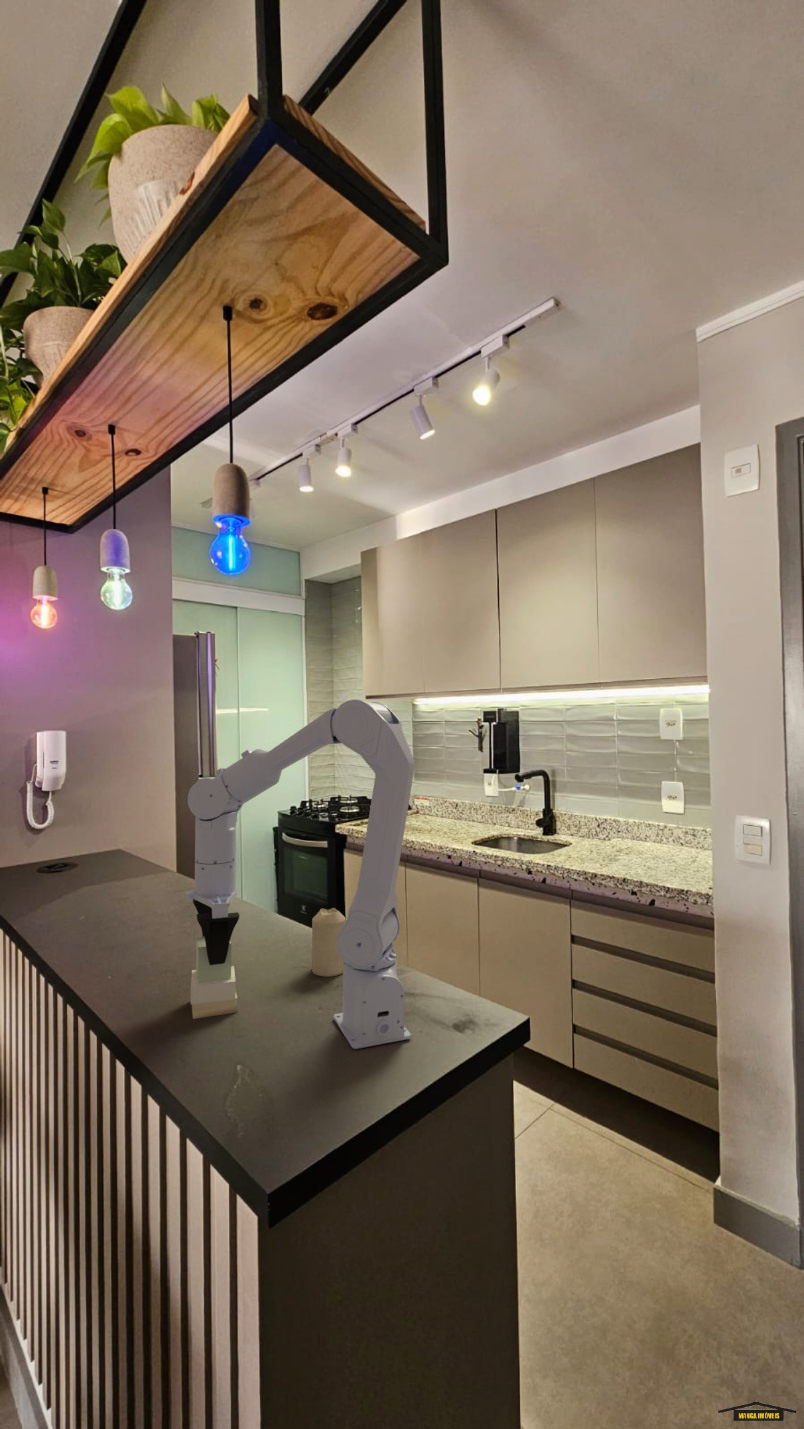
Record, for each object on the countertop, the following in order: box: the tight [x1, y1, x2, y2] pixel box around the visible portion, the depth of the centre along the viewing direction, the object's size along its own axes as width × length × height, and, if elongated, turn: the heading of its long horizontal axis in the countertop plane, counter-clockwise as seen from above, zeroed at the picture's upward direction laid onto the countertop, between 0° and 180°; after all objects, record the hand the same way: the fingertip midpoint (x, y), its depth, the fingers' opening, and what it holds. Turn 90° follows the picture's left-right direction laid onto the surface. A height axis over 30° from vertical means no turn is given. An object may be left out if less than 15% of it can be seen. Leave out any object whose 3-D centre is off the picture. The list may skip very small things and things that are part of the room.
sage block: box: [195, 936, 232, 983], centre depth 92 cm, size 4×4×5 cm
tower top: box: [190, 965, 237, 1005], centre depth 91 cm, size 6×6×2 cm
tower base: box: [190, 990, 239, 1020], centre depth 91 cm, size 6×6×2 cm
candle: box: [311, 907, 347, 978], centre depth 105 cm, size 6×6×10 cm
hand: (214, 954), depth 92 cm, fingers open, 7 cm apart
